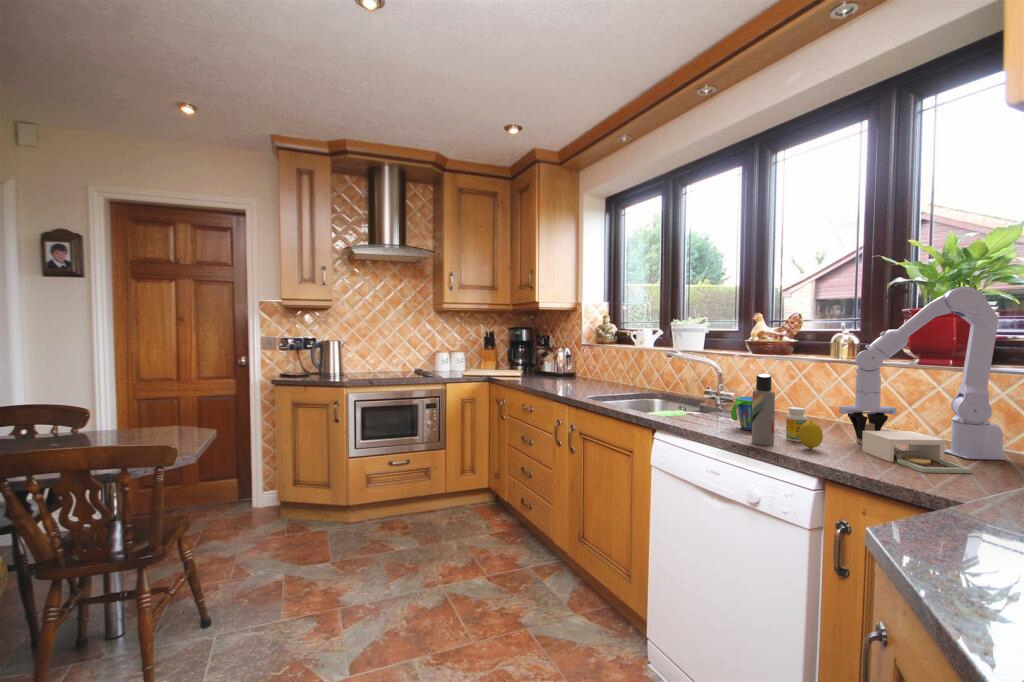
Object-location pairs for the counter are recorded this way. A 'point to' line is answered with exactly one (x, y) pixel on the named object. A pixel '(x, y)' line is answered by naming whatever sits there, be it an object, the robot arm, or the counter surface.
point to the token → (918, 460)
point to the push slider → (897, 452)
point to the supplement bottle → (794, 423)
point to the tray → (954, 467)
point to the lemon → (811, 434)
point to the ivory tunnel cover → (885, 440)
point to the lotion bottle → (763, 411)
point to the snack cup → (743, 412)
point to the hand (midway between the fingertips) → (866, 438)
